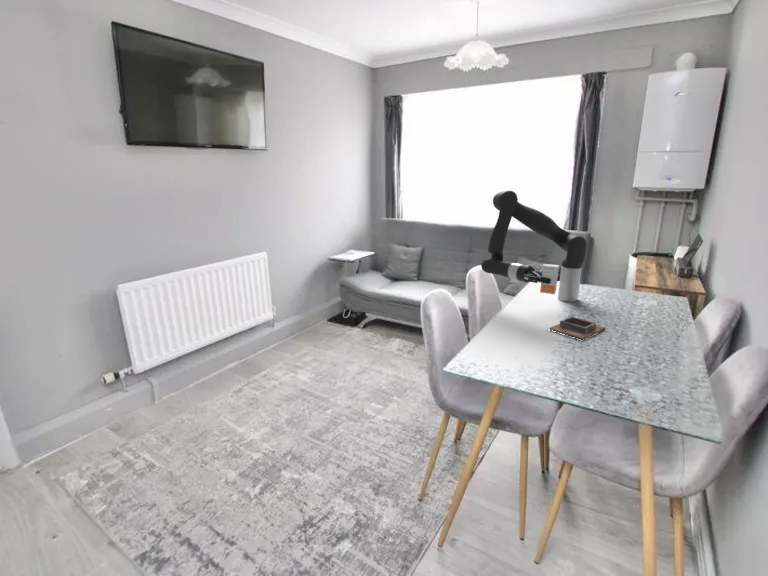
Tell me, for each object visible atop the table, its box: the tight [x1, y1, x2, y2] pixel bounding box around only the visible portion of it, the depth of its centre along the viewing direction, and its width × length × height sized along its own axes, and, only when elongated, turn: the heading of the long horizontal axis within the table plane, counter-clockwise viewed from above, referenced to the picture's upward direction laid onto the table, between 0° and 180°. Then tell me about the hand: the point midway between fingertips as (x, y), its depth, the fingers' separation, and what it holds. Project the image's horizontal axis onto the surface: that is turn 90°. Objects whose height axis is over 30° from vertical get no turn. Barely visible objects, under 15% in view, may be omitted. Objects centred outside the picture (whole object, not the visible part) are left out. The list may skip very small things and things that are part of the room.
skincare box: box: [539, 263, 560, 295], centre depth 167 cm, size 6×4×12 cm
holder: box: [548, 316, 606, 341], centre depth 163 cm, size 18×14×4 cm
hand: (554, 280), depth 165 cm, fingers closed on skincare box, 6 cm apart
